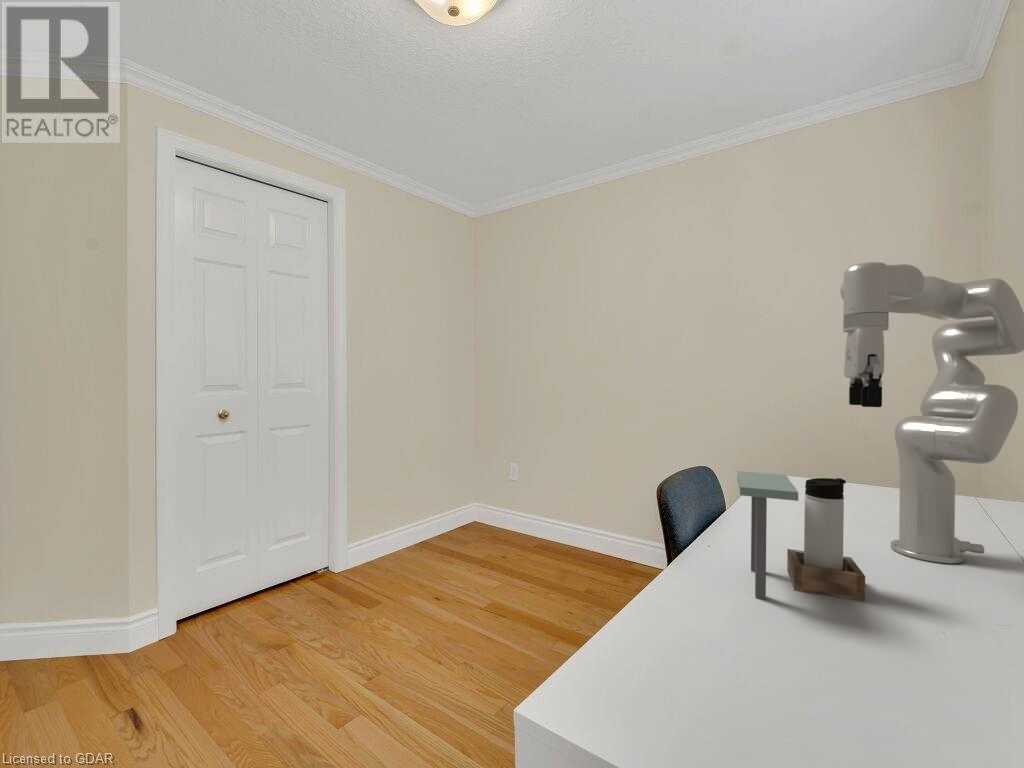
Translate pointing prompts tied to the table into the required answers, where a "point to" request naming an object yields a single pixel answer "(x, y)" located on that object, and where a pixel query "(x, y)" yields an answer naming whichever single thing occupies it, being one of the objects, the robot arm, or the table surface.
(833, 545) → the travel mug
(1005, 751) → the table surface
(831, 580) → the brown wooden tray
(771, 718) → the table surface
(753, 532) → the panel
